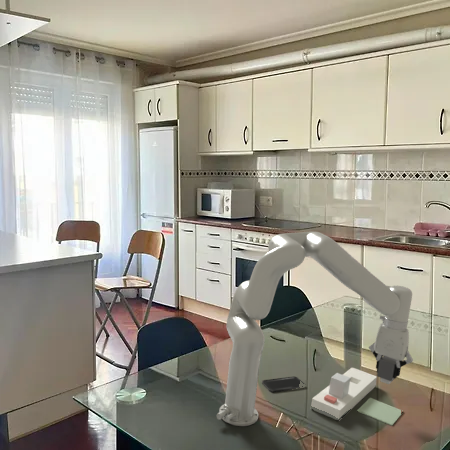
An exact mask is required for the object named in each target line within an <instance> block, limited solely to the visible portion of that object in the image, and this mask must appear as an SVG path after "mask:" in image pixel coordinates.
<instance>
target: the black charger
mask: <svg viewBox="0 0 450 450" xmlns="http://www.w3.org/2000/svg"><path fill="white" fill-rule="evenodd" d="M395 367H396V360H395V359H392V358H389V357H386V356H383V357H382V358H381V359H380V361H379V367H378V373H377V372H376V373H377V374H376V376H377V378H380V380H379V381H380V382H381V383H384V384H386V385H391V383H392V382H393V381H394V380H395V379H394V378H393V376H394V369H395Z"/></svg>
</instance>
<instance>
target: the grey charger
mask: <svg viewBox="0 0 450 450" xmlns="http://www.w3.org/2000/svg"><path fill="white" fill-rule="evenodd" d="M329 385H330V388H329V394H331V395H333V396H336V397H338V398H341V399H343V398H344V397H345V396H346V395H347V394H348V391H349V385H350V377H347V376H344V375H343V374H341V373H339V372H336V373H335V374H334V375H332V376H331V377H330V382H329Z"/></svg>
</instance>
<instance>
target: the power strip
mask: <svg viewBox="0 0 450 450" xmlns="http://www.w3.org/2000/svg"><path fill="white" fill-rule="evenodd" d="M342 375H344V376H347V377H350V385H349V391H348V394H347V395H346V396H345V397H344V398H343V399H341V398H338V397H336V396H333V395H331V394H329V388H330V384H329V385H328V386H326V387H325V388H324V389H322V390H320V392H318V393H317V394H316V395H314V396H313V397H312V398H311V405H310V407H311V406H312V407H315V408H317V409H319V410H322V411H325V412H327V413H329V414H331V415H333V416H335V417H336V418H338V419H339V418H340V417H341V416H342V415H343V414H344V413H345V412H346V411H348V410H350V409H351V410H352V409H353V408H355V406H356V405H358V403H360V402H361V401H362V399H364V398H365V397H366V396H367V395H368V394H369V393H370V392H371V391H373V390H374V388H375V387H376V384H377V378H378V376H377V375H373V374H371V373H368V372H366V371H363V370H361V369H358V368H355V367H350V369H348V370H347V371H345V372H344V373H343V374H342ZM351 410H350V411H351Z"/></svg>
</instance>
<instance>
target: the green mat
mask: <svg viewBox="0 0 450 450" xmlns="http://www.w3.org/2000/svg"><path fill="white" fill-rule="evenodd" d="M401 410H402V409H400V408H397V407H395V406H391V405H389V404H387V403H385V402H382V401H380V400H377V399H374V398H372V397H369V398H368V399H367V400H366V401H365V402H364V403H363V404H362V405H361V406H360V407H359V408H358V409H357V410H356V412H357V411H358V413H360V414H362V415H365V416H367V417H370V418H371V419H374V420H377V421H379V422H381V423H384V424H387V425H389V426H393V425H394V424H395V423H396V422H397V420H399V418H400V417H401V416H402V414H401Z"/></svg>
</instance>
